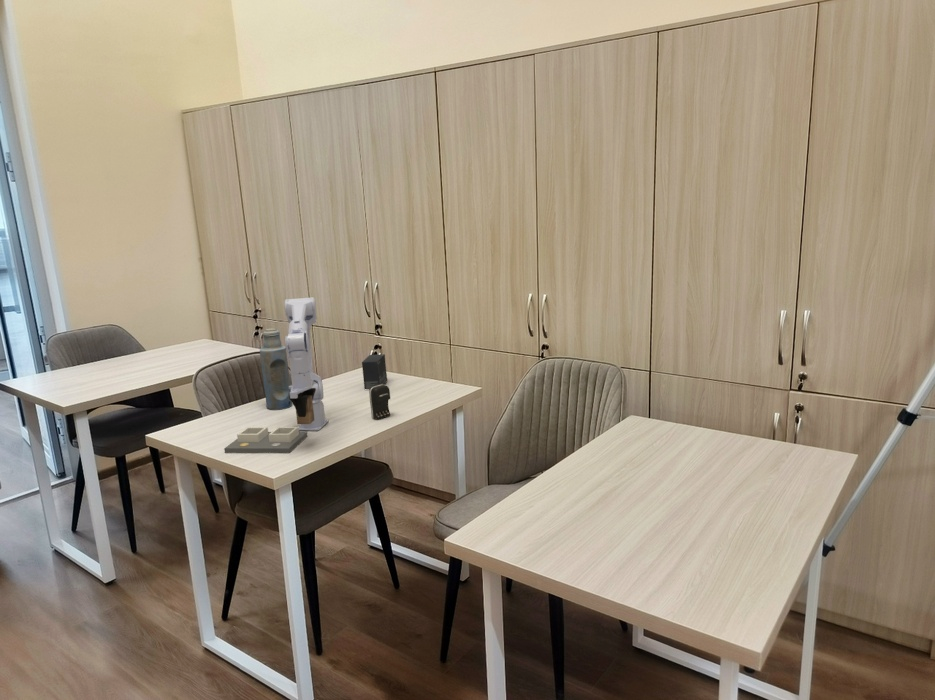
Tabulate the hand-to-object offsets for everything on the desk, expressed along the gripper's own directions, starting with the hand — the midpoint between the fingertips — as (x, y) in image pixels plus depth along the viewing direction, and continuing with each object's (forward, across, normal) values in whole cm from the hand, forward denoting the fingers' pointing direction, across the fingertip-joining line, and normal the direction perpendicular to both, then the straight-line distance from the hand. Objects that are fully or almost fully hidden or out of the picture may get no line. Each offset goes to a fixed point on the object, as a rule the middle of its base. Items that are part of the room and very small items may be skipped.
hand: (304, 414), depth 204 cm
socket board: (+10, -1, -14) cm, 18 cm away
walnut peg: (+2, 0, 0) cm, 3 cm away
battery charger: (+11, -28, +16) cm, 34 cm away
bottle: (+11, -42, -28) cm, 51 cm away
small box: (+11, -70, +3) cm, 71 cm away
